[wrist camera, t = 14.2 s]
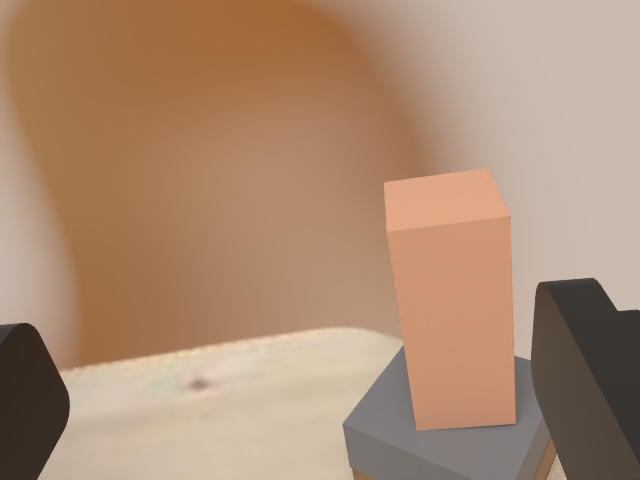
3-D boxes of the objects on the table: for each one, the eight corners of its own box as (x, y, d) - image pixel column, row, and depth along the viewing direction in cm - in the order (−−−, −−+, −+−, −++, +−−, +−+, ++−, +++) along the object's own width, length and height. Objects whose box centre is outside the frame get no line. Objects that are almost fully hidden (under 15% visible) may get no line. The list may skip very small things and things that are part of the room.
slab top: (350, 467, 32) (342, 423, 30) (420, 368, 38) (417, 327, 37) (507, 541, 27) (508, 494, 25) (559, 414, 33) (563, 369, 32)
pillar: (416, 430, 29) (386, 231, 24) (410, 364, 34) (384, 182, 28) (515, 423, 29) (510, 216, 23) (496, 356, 33) (487, 167, 27)
